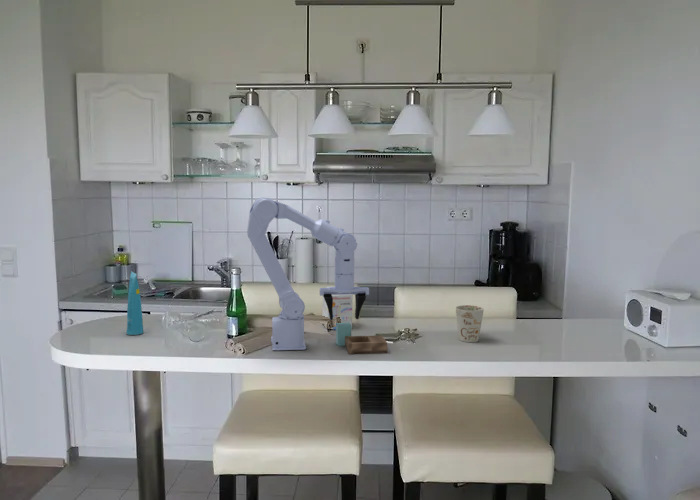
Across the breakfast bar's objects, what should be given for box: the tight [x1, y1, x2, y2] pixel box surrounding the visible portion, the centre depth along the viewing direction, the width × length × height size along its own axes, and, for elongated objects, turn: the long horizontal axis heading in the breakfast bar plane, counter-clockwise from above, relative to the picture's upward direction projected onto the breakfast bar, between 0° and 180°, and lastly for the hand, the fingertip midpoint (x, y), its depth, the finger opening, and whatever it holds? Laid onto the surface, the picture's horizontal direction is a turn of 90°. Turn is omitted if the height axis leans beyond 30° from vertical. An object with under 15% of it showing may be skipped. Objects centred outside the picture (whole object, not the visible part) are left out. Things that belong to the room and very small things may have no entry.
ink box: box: [321, 286, 354, 331], centre depth 176 cm, size 9×8×13 cm
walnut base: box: [344, 335, 388, 355], centre depth 151 cm, size 11×8×3 cm
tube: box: [126, 271, 144, 336], centre depth 163 cm, size 7×5×19 cm, turn 39°
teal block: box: [335, 322, 352, 347], centre depth 156 cm, size 4×4×6 cm
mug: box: [455, 304, 484, 343], centre depth 164 cm, size 8×13×10 cm, turn 152°
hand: (344, 318), depth 156 cm, fingers open, 7 cm apart
